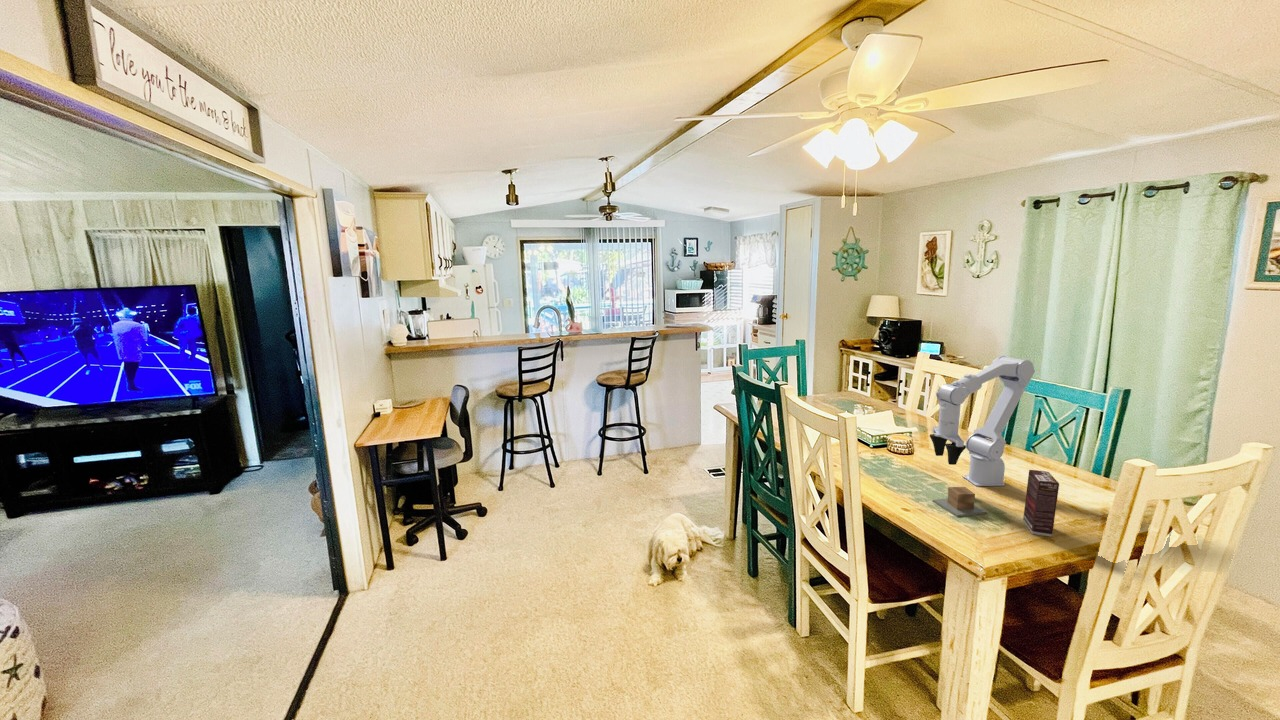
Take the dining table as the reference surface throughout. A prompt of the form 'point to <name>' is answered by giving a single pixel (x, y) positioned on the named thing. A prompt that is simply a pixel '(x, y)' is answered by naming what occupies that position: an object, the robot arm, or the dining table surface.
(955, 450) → the robot arm
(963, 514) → the slate coaster
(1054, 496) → the supplement box
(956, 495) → the walnut cube
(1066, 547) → the dining table surface
